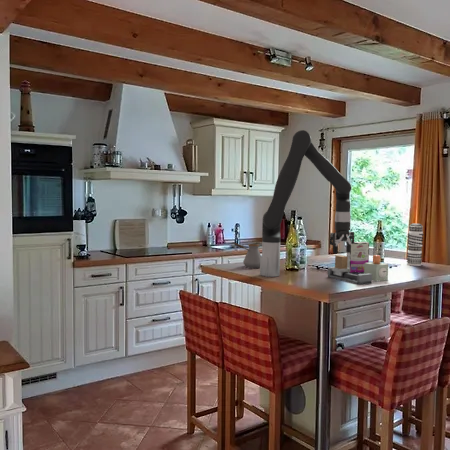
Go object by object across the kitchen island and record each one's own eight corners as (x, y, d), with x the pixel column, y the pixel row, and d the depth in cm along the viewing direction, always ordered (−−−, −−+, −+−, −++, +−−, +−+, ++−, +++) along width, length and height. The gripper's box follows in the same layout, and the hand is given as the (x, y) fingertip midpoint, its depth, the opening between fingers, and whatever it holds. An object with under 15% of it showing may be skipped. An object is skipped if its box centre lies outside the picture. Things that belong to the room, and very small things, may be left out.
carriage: (339, 276, 234) (340, 257, 233) (331, 274, 239) (332, 255, 239) (350, 275, 238) (350, 256, 237) (341, 273, 243) (342, 254, 242)
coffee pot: (254, 265, 275) (254, 239, 274) (267, 267, 266) (268, 241, 265) (225, 268, 262) (225, 241, 261) (238, 271, 253) (238, 243, 252)
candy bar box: (364, 271, 261) (365, 241, 260) (368, 272, 256) (369, 242, 255) (345, 271, 259) (346, 241, 258) (349, 273, 254) (350, 242, 253)
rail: (359, 284, 222) (359, 275, 221) (327, 276, 241) (328, 267, 241) (371, 283, 226) (372, 273, 225) (339, 275, 245) (340, 266, 245)
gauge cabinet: (376, 281, 231) (377, 265, 230) (363, 278, 238) (364, 262, 238) (388, 280, 235) (389, 264, 234) (375, 277, 242) (376, 261, 241)
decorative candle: (418, 263, 293) (420, 223, 291) (424, 266, 284) (426, 224, 282) (403, 263, 293) (405, 223, 291) (409, 265, 284) (411, 224, 282)
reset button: (376, 264, 234) (376, 256, 233) (371, 263, 237) (371, 255, 236) (381, 263, 235) (381, 255, 235) (376, 262, 238) (376, 254, 238)
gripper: (347, 220, 243) (347, 251, 244) (326, 220, 236) (325, 252, 238) (358, 220, 237) (357, 253, 238) (337, 221, 230) (336, 254, 231)
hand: (341, 252), depth 238 cm, fingers open, 8 cm apart
